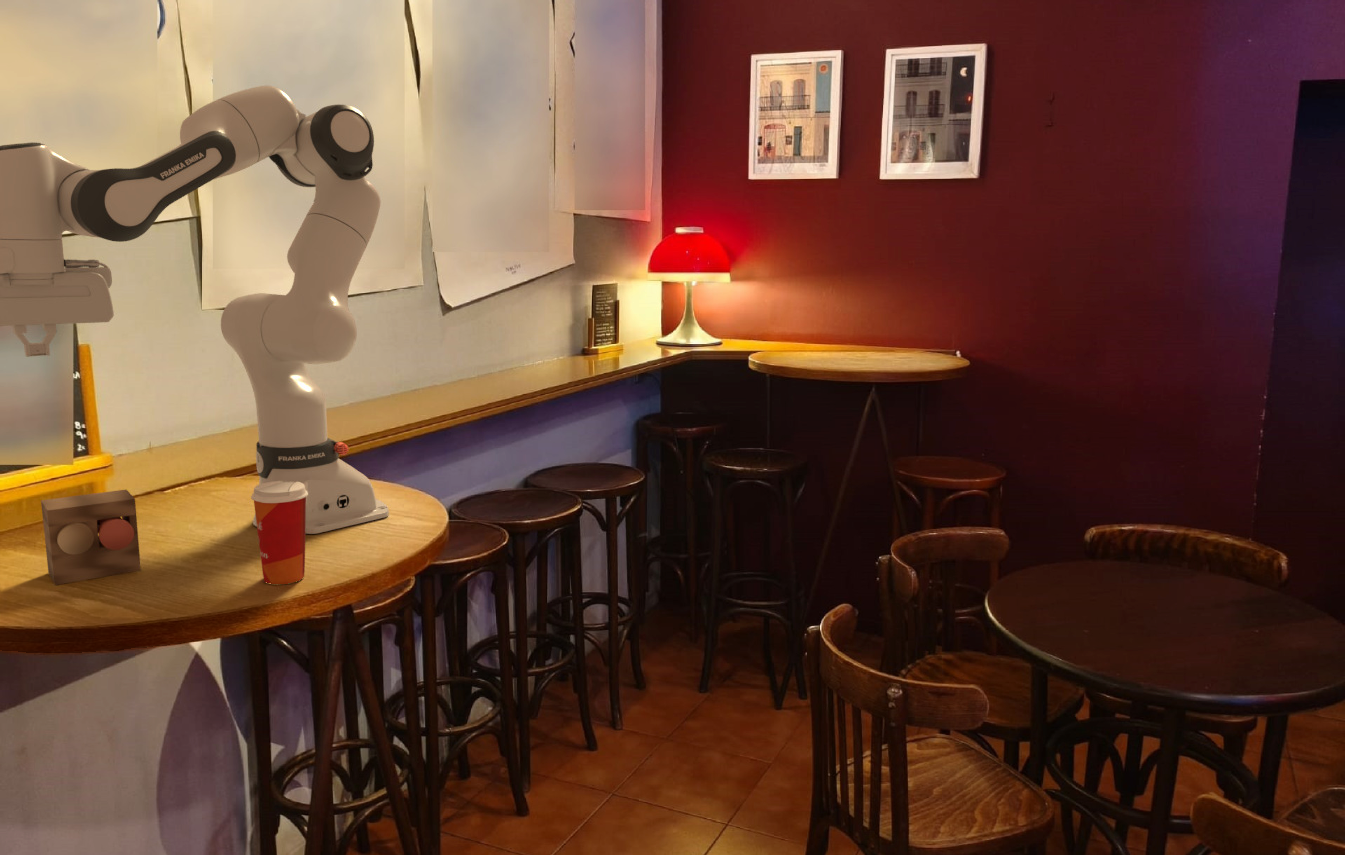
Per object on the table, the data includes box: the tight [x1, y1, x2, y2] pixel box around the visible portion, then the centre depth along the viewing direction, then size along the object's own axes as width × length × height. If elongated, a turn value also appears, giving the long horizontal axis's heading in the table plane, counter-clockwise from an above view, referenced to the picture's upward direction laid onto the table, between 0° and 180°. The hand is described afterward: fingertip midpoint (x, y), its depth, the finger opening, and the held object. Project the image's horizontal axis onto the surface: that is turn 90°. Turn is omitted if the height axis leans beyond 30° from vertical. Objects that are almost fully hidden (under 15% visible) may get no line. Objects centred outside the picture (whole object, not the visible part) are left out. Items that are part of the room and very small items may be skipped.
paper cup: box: [250, 481, 308, 586], centre depth 145 cm, size 8×8×14 cm
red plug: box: [97, 517, 134, 550], centre depth 148 cm, size 4×11×4 cm, turn 39°
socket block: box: [40, 489, 142, 586], centre depth 146 cm, size 11×7×11 cm, turn 129°
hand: (37, 355), depth 145 cm, fingers closed
